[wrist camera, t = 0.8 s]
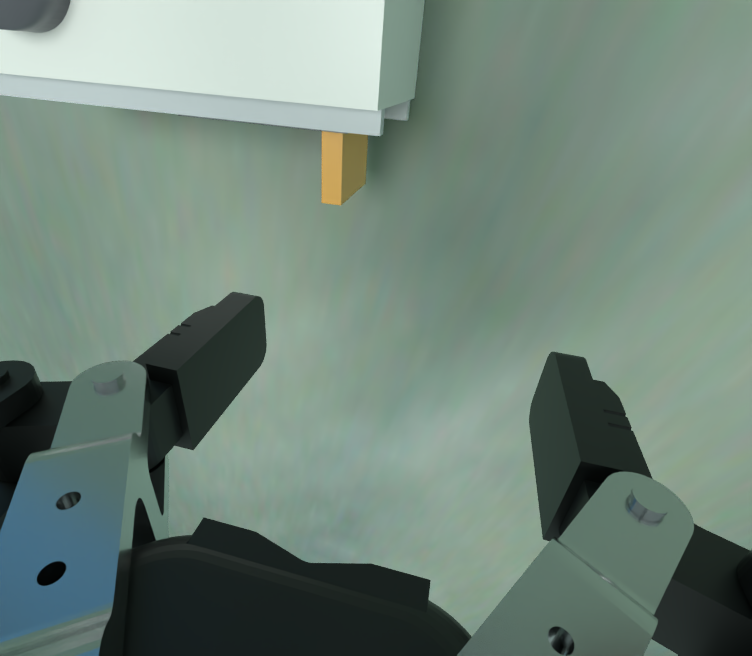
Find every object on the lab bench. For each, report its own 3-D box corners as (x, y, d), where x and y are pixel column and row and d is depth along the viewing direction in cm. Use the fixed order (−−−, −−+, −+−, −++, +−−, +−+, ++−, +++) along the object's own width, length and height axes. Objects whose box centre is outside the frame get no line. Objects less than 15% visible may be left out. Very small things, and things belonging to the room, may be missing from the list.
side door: (237, 91, 29) (175, 95, 24) (377, 104, 28) (347, 112, 22) (244, 166, 32) (189, 187, 26) (372, 182, 30) (345, 208, 25)
